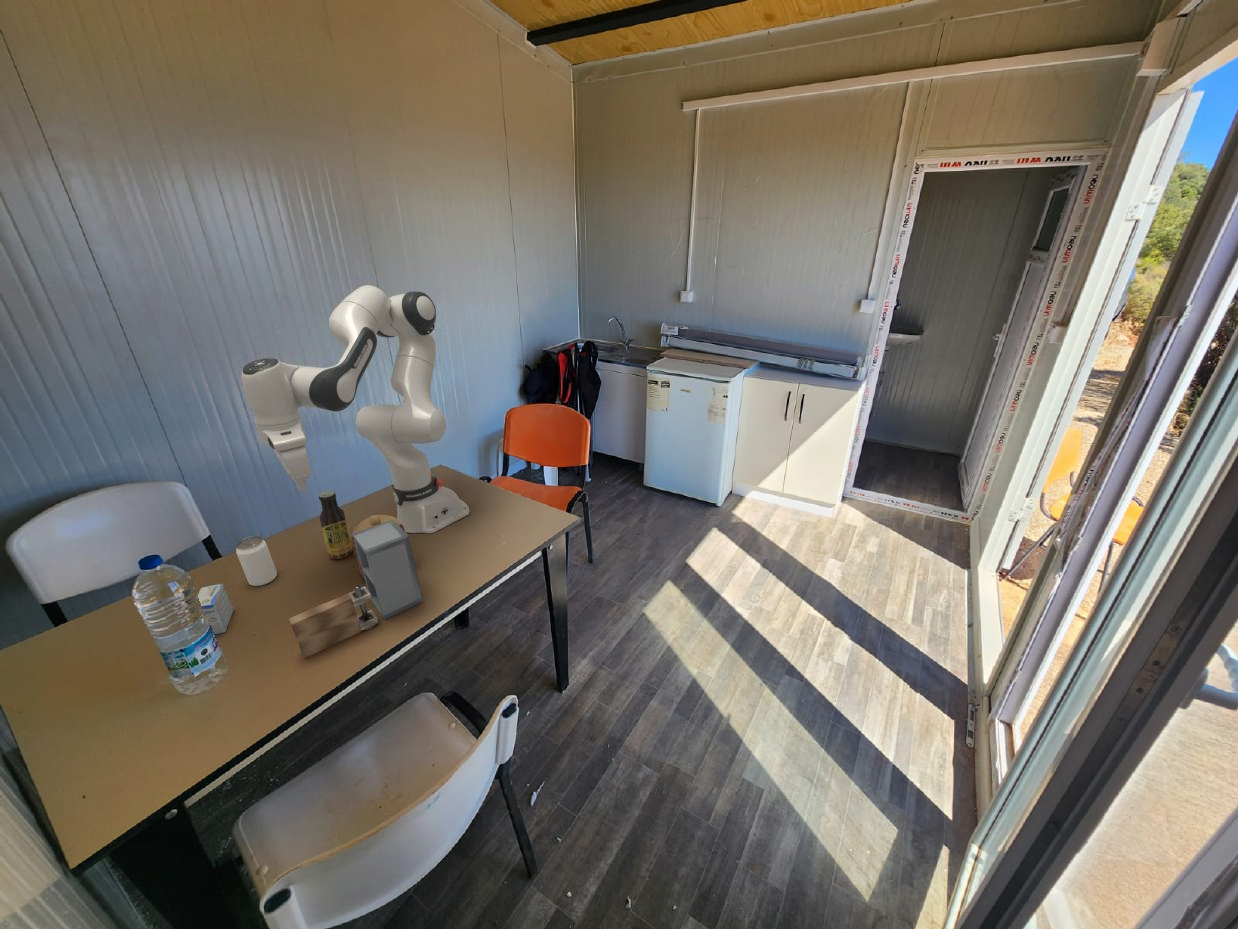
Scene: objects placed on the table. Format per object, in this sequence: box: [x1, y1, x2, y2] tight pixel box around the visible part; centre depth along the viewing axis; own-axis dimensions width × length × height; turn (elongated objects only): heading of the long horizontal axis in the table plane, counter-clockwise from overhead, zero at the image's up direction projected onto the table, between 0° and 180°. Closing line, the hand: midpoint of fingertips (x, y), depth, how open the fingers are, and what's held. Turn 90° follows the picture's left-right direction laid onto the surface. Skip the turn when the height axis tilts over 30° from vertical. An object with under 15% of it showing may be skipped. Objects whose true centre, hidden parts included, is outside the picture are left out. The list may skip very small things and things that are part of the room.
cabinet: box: [352, 519, 423, 621], centre depth 121 cm, size 10×10×20 cm
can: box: [235, 535, 278, 587], centre depth 129 cm, size 6×6×12 cm
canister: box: [351, 514, 406, 581], centre depth 132 cm, size 13×13×18 cm
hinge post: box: [354, 585, 377, 631], centre depth 115 cm, size 4×4×12 cm
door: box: [288, 586, 379, 659], centre depth 112 cm, size 16×4×10 cm, turn 133°
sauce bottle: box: [318, 490, 353, 560], centre depth 138 cm, size 6×6×20 cm
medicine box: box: [197, 583, 235, 635], centre depth 116 cm, size 8×4×9 cm, turn 23°
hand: (298, 482), depth 121 cm, fingers open, 8 cm apart
